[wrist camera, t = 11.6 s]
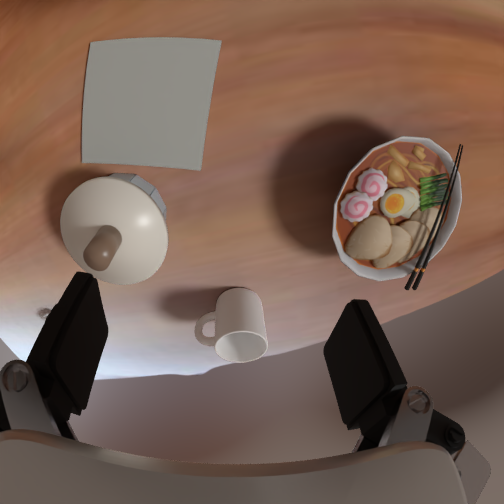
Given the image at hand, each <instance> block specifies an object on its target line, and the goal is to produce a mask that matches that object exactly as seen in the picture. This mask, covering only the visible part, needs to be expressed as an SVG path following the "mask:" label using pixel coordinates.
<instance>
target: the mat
mask: <svg viewBox="0 0 504 504" xmlns="http://www.w3.org/2000/svg"><path fill="white" fill-rule="evenodd" d="M221 42H222V41H219V40H209V39H195V38H165V37H159V38H129V39H116V40H106V41H97V42H91V44H90V50H89V56H88V63H87V70H86V79H85V89H84V101H83V118H82V163H105V164H127V165H143V166H157V167H169V168H180V169H191V170H200V171H201V166H202V158H203V150H204V143H205V135H206V128H207V121H208V115H209V108H210V102H211V96H212V90H213V84H214V79H215V73H216V68H217V62H218V57H219V52H220V47H221Z"/></svg>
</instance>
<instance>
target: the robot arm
mask: <svg viewBox="0 0 504 504" xmlns="http://www.w3.org/2000/svg"><path fill="white" fill-rule="evenodd" d="M107 337H108V325H107V322H106V318H105V314H104V309H103V305H102V301H101V296H100V291H99V287H98V281H97V279H96V278H94V277H93V275H92V274H91V273H85V272H76V274H75V275H74V277H73V278H72V280H71V282H70V283H69V285H68V287H67V288H66V290H65V292H64V293H63V295H62V297H61V299H60V300H59V302H58V304H56V305H55V306H54V307H53V309H52V311H51V312H50V314H49V316H48V318H47V320H46V322H45V324H44V325H43V327H42V329H41V331H40V333H39V335H38V337H37V339H36V341H35V343H34V346H33V348H32V350H31V352H30V354H29V356H28V358H27V361H26V362H25V361H22V360H12V361H10V362H8V363H6V365H5V366H4V367H3V368H2V370H1V371H0V504H475V503H476V501H477V499H478V498H479V496H480V494H481V492H482V490H483V489H484V487H485V485H486V483H487V481H488V479H489V477H490V474H491V468H490V464H489V463H488V461H487V460H486V459H485V458H484V457H483V456H482V455H481V454H480V453H479V451H478V450H477V449H476V448H475V447H474V446H473V445H472V444H471V443H470V442H469V441H468V440H467V441H466V442H465V433H464V431H463V428H462V427H461V426H460V425H459V424H458V423H456V422H455V421H453V420H451V419H449V418H448V417H446V416H444V415H442V414H441V413H439V412H437V411H436V410H434V409H433V400H432V397H431V396H430V394H429V393H428V392H427V391H426V390H425V389H423V388H422V387H419V386H412V387H409V388H408V389H407V386H406V385H407V381H406V379H405V377H404V374H403V372H402V370H401V368H400V366H399V363H398V361H397V359H396V357H395V355H394V353H393V351H392V348H391V346H390V344H389V342H388V340H387V338H386V336H385V334H384V332H383V330H382V328H381V326H380V324H379V322H378V320H377V318H376V316H375V314H374V312H373V310H372V308H371V306H370V304H369V302H368V301H367V300H358V299H353V300H352V301H351V302H350V303H348V304H347V305H346V306H345V308H344V310H343V312H342V314H341V316H340V318H339V320H338V322H337V324H336V326H335V328H334V330H333V331H332V333H331V335H330V337H329V339H328V341H327V342H326V344H325V346H324V357H325V360H326V363H327V367H328V371H329V374H330V377H331V381H332V385H333V388H334V391H335V395H336V399H337V402H338V406H339V409H340V413H341V417H342V421H343V423H344V424H347V428H348V430H352V429H358V428H360V430H361V435H360V437H359V439H358V441H357V443H356V445H355V447H354V449H353V451H352V453H349V454H343V455H338V456H332V457H326V458H319V459H312V460H305V461H295V462H284V463H269V464H208V463H207V464H206V463H193V462H181V461H172V460H164V459H157V458H150V457H143V456H139V455H133V454H128V453H123V452H119V451H114V450H110V449H105V448H101V447H97V446H93V445H89V444H86V443H82V442H79V441H78V439H77V437H76V435H75V433H74V431H73V429H72V427H71V425H70V423H69V421H68V420H69V418H70V414H71V413H73V414H76V415H81V411H82V409H83V410H84V409H86V407H87V403H88V399H89V395H90V392H91V388H92V385H93V381H94V378H95V374H96V371H97V368H98V364H99V361H100V358H101V355H102V352H103V349H104V346H105V343H106V340H107Z"/></svg>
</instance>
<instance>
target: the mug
mask: <svg viewBox="0 0 504 504" xmlns="http://www.w3.org/2000/svg"><path fill="white" fill-rule="evenodd" d="M214 319H215V337H206V336H204V335H203V333H202V328H203V326H204V324H205V323H206V322H208V321H210V320H214ZM195 336H196V339H197V340H198V341H199V342H200V343H201V344H203V345H207V346H214V347H215V351H216V353H217V354H218V356H220V357H221V358H223V359H224V360H227V361H230V362H237V363H242V362H250V361H253V360H256V359H258V358H260V357H261V356H262V355H263V354H264V353H265V352H266V350H267V347H268V343H267V336H266V329H265V322H264V315H263V308H262V303H261V300H260V298H259V296H258V295H257V294H256V293H255V292H253V291H252V290H249V289H246V288H233V289H229V290H227V291H225V292H224V293H222V294H221V295H220V296H219V298H218V299H217V303H216V311H213V312H209V313H207V314H205V315H203V316H202V317H201V318H200V319H199V320H198V321H197V323H196V326H195Z"/></svg>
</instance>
